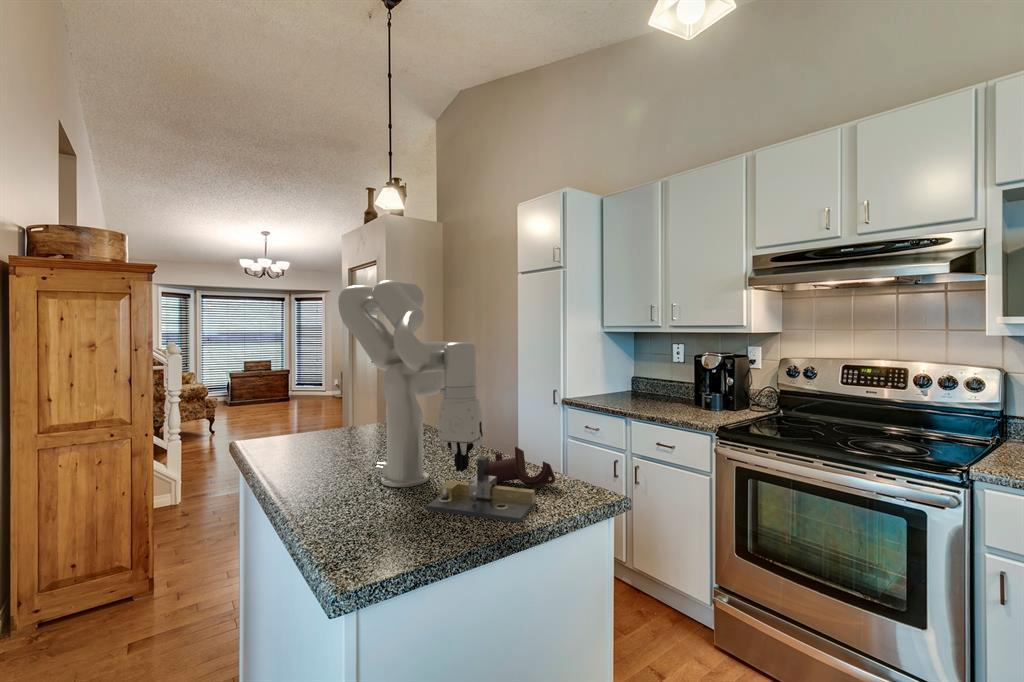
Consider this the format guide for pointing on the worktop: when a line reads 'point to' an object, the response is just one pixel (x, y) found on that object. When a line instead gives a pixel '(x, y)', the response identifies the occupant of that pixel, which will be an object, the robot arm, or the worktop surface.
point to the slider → (482, 480)
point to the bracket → (519, 470)
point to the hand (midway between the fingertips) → (461, 469)
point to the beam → (497, 492)
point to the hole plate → (482, 508)
